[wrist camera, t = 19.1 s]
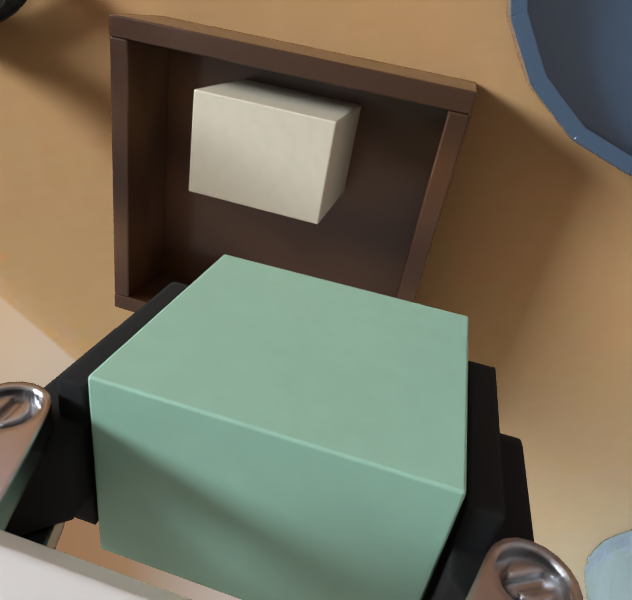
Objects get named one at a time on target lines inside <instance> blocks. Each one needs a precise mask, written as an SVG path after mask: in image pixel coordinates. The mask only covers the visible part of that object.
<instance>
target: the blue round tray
mask: <svg viewBox="0 0 632 600" xmlns="http://www.w3.org/2000/svg"><path fill="white" fill-rule="evenodd" d="M507 17H508V23H509V26H510V29H511V32H512V36H513V39H514V43H515V46H516V50H517V54H518V57H519V59H520V62H521V65H522V68H523V72H524V75H525V78H526V81H527V82H528V85H529V86H530V87H531V89H532V90H533V91H534V93H535V94H536V95H537V97H538V98H539V99H540V101H541V102H542V103H543V105H544V106H545V107H546V108H547V110H548V111H549V112H550V114H551V115H552V116H553V118H554V119H555V120H556V122H557V123H558V124H559V125H560V127H561V128H562V129H563V131H564V132H565V133H566V134H567V135H568V136H569V137H570V138H571V139H572V140H573V141H574V142H576V143H577V144H579V145H580V146H582V147H584V148H585V149H587V150H589V151H590V152H592V153H593V154H595V155H597V156H598V157H600V158H601V159H603V160H605V161H606V162H608V163H609V164H611V165H613V166H614V167H616V168H618V169H619V170H621V171H622V172H624V173H626V174H627V175H630V176H632V0H507Z"/></svg>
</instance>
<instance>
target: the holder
mask: <svg viewBox="0 0 632 600" xmlns="http://www.w3.org/2000/svg"><path fill="white" fill-rule="evenodd" d="M26 1H27V0H0V22H2V21H4V20H6V19H7V18H9V17H10V16H12V15H13V14H15V13H16V12H17V11H18V10H19V9H20V8H21V7H22V6H23V5H24V3H25V2H26Z"/></svg>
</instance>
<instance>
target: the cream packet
mask: <svg viewBox="0 0 632 600" xmlns="http://www.w3.org/2000/svg"><path fill="white" fill-rule="evenodd" d="M360 111H361V105H359V104H354V103H350V102H345V101H341V100H336V99H332V98H327V97H323V96H318V95H314V94H309V93H305V92H301V91H296V90H292V89H287V88H283V87H278V86H274V85H269V84H265V83H260V82H256V81H251V80H247V79H241V80H236V81H232V82H227V83H222V84H218V85H213V86H208V87H204V88H199V89H195V90H194V101H193V120H192V138H191V157H190V176H189V191H191V192H195V193H199V194H203V195H207V196H210V197H214V198H218V199H222V200H226V201H230V202H233V203H237V204H241V205H245V206H249V207H253V208H256V209H260V210H264V211H268V212H272V213H276V214H279V215H283V216H287V217H291V218H295V219H299V220H302V221H306V222H310V223H314V224H318V223H319V222H320V221H321V219H322V218H323V217H324V216H325V214H326V213H327V212H328V211H329V209H330V208H331V207H332V206H333V204H334V203H335V202H336V201H337V199H338V198H339V197H340V196H341V194H342V193H343V192H344V189H345V184H346V180H347V175H348V170H349V165H350V160H351V155H352V150H353V145H354V140H355V135H356V130H357V125H358V120H359V115H360Z"/></svg>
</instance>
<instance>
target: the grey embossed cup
mask: <svg viewBox="0 0 632 600" xmlns="http://www.w3.org/2000/svg"><path fill="white" fill-rule="evenodd" d="M585 585H586V593H587V600H632V530H631V531H627V532H624V533H621V534H618V535H616V536H614V537H612V538H609V539H607V540H605V541H604V542H603V543H602V544H600V545H599V546H598V547H597V548H596V549H595V550H594V551H593V553H592V555H590V556H588V564H587V565H586V566H585Z"/></svg>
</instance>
